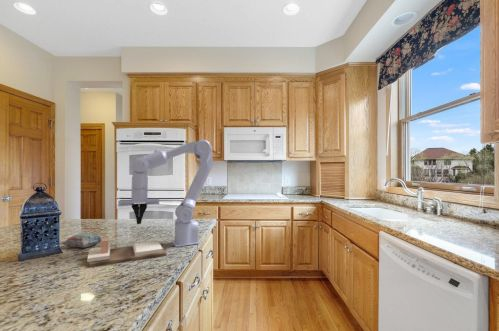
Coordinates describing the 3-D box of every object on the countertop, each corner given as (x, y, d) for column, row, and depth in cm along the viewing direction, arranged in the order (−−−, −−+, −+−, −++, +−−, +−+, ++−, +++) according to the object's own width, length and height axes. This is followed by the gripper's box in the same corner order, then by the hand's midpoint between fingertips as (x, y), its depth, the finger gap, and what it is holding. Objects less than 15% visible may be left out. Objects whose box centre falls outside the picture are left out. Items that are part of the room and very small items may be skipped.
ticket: (157, 243, 97) (158, 240, 97) (162, 252, 87) (162, 248, 87) (132, 247, 92) (133, 243, 92) (134, 256, 83) (135, 252, 83)
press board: (159, 245, 98) (160, 242, 98) (166, 255, 86) (166, 252, 86) (92, 253, 87) (92, 250, 87) (88, 267, 75) (88, 264, 75)
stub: (110, 249, 89) (110, 234, 89) (109, 259, 79) (109, 242, 79) (90, 251, 86) (90, 236, 86) (87, 262, 76) (87, 245, 76)
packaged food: (84, 251, 90) (85, 238, 90) (59, 248, 93) (59, 235, 93) (103, 245, 98) (104, 232, 98) (80, 242, 101) (80, 230, 101)
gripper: (118, 189, 88) (117, 227, 88) (160, 189, 95) (160, 223, 95) (118, 188, 94) (117, 223, 94) (158, 187, 101) (157, 220, 101)
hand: (138, 223), depth 95 cm, fingers closed
